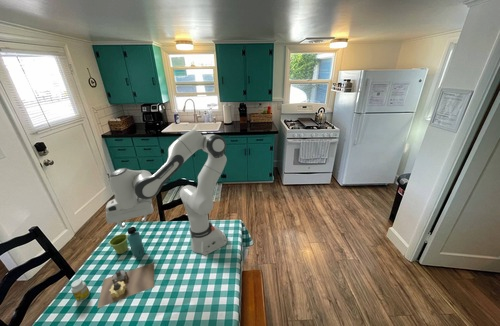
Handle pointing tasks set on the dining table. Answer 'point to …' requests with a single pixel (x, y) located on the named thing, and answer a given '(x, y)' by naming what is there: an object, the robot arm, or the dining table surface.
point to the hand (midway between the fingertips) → (134, 224)
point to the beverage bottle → (135, 242)
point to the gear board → (127, 283)
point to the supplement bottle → (80, 290)
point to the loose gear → (118, 292)
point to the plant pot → (119, 243)
